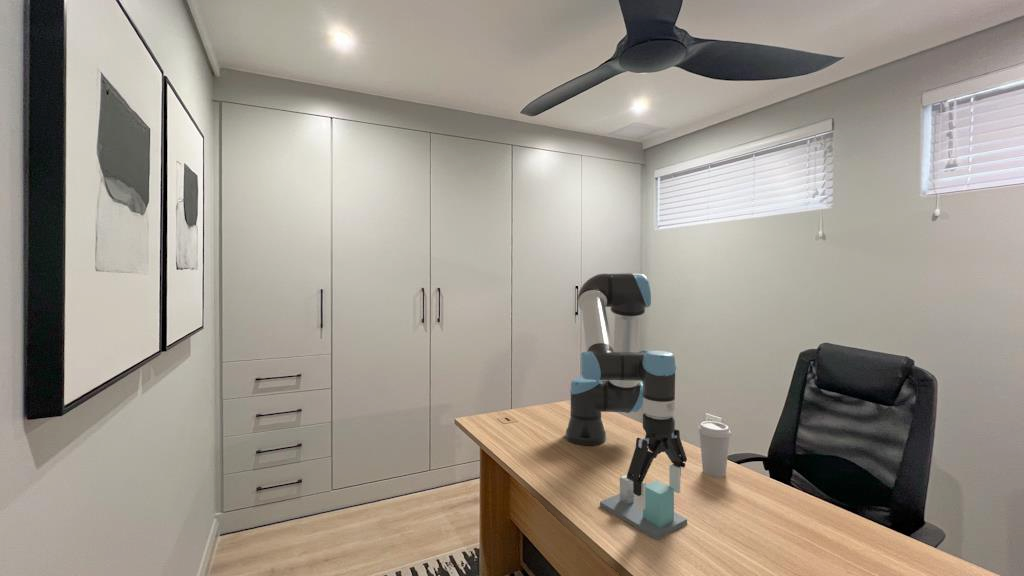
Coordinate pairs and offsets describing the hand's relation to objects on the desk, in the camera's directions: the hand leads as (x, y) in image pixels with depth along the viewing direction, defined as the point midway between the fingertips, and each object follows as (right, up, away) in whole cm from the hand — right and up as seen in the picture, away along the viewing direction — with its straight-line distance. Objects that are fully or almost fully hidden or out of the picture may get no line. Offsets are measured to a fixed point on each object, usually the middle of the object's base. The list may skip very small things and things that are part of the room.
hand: (657, 498), depth 106 cm
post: (-6, -5, +8) cm, 11 cm away
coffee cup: (+27, -6, +27) cm, 39 cm away
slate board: (-3, -6, +4) cm, 8 cm away
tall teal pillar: (0, -5, 0) cm, 5 cm away
